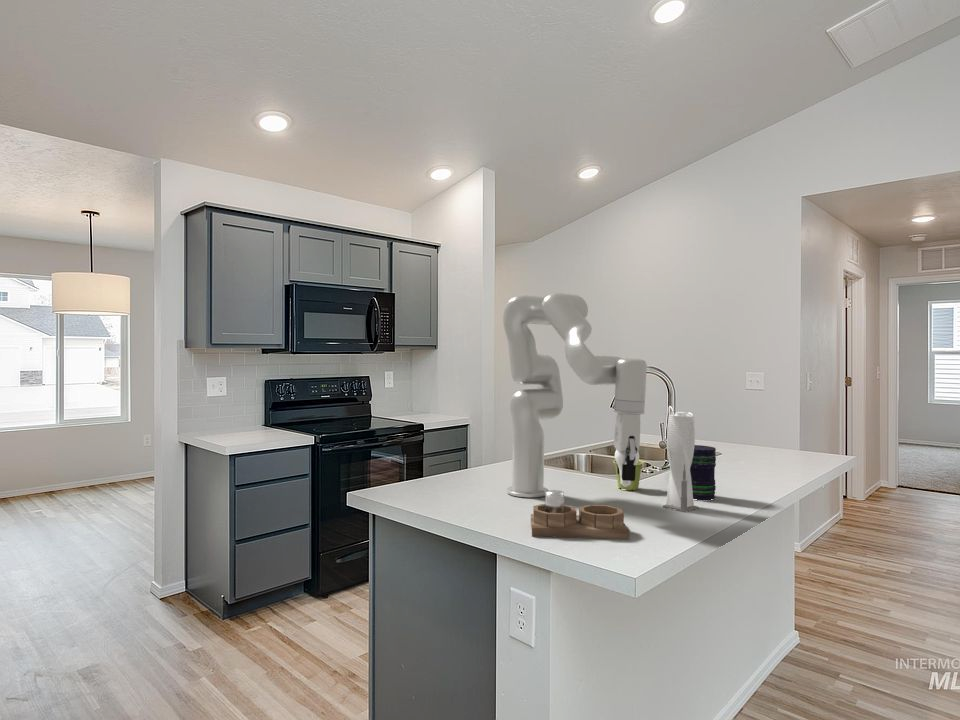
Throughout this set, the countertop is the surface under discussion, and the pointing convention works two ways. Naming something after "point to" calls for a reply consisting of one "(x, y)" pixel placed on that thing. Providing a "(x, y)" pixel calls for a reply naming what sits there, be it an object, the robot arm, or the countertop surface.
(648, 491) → the countertop surface
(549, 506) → the grey domed cylinder
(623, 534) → the socket board
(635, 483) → the plant pot
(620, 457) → the lightbulb
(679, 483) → the skyscraper
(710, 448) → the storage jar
